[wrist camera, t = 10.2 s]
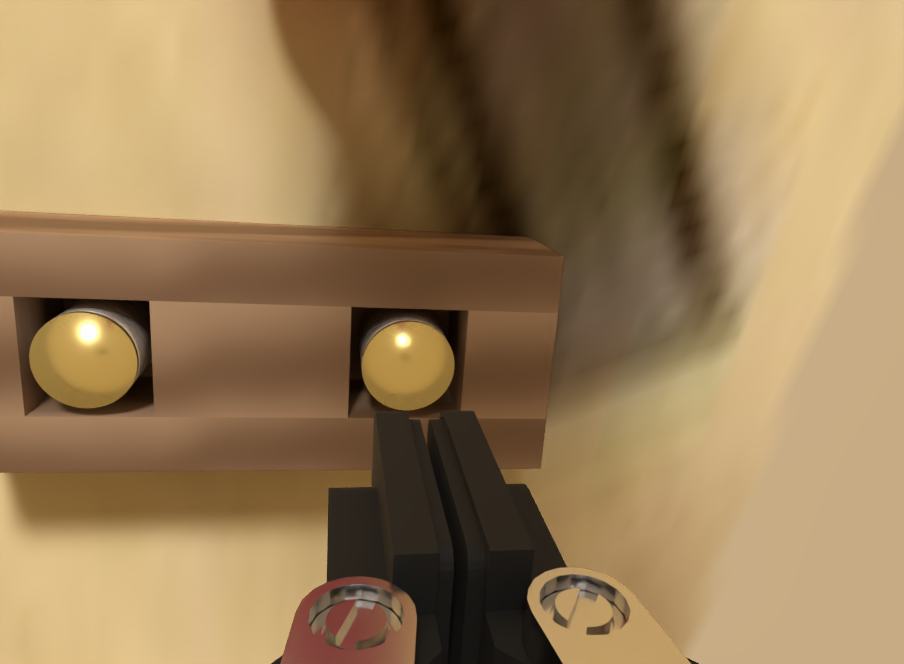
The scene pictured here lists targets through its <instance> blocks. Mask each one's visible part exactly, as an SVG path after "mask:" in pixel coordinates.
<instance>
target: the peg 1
mask: <svg viewBox="0 0 904 664" xmlns="http://www.w3.org/2000/svg"><path fill="white" fill-rule="evenodd" d="M151 361H152V348H151V326H150V305H149V302H148V301H141V300H108V299H82V300H80V301H79V302H77V303H76V304H74V305H73V306H71V307H70V308H68V309H67V310H65V311H64V312H62V313H61V314H59V315H58V316H56V317H55V318H53V319H52V320H50V321H49V322H47V323H46V324H45V325H44V326H42V327H41V328H40V330H39V331H38V332H37V333H36V335H35V336H34V338H33V341H32V343H31V346H30V352H29V362H30V367H31V371H32V373H33V376H34V378H35V380H36V381H37V383H38V384H39V385H40V387H41V388H42V389H43V390H44V391H45V392H46V393H47V394H48V395H50V396H51V397H52V398H54V399H56V400H57V401H59V402H61V403H64V404H66V405H69V406H73V407H78V408H97V407H102V406H106V405H108V404H111V403H113V402H115V401H116V400H118V399H119V398H121V397H122V396H123V395H124V394H125V393H126V392H127V391H128V390H129V389H130V387H131V386H132V385H133V384H134V382H135V381H136V380H137V379H138V377H139V376H140V375H141V374H142V372H143V371H144V370H145V369H146V367H147V366H148V365H149V364H150V362H151Z"/></svg>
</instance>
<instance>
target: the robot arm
mask: <svg viewBox="0 0 904 664" xmlns="http://www.w3.org/2000/svg"><path fill="white" fill-rule="evenodd" d="M272 664H698V663H696V662H694V661H692V660H690V659H688V658H686V657H685V656H684V654H683V653H682V652H681V651H680V649H679V648H678V647H677V646H676V645H675V643H674V642H673V641H672V640H671V639H670V637H669V636H668V635H667V634H666V632H665V631H664V630H663V629H662V628H661V626H660V625H659V624H658V623H657V622H656V620H655V619H654V618H653V617H652V615H651V614H650V613H649V612H648V611H647V609H646V608H645V607H644V606H643V604H642V603H641V602H640V601H639V600H638V598H637V597H636V596H635V595H634V594H633V593H632V592H631V591H630V590H629V589H628V588H627V587H626V586H625V585H624V584H622V583H620V582H619V581H617V580H615V579H614V578H612V577H610V576H608V575H606V574H603V573H600V572H597V571H594V570H590V569H584V568H578V567H567V566H566V564H565V562H564V560H563V558H562V556H561V554H560V552H559V550H558V548H557V546H556V544H555V542H554V540H553V538H552V536H551V534H550V532H549V530H548V528H547V526H546V524H545V522H544V519H543V517H542V515H541V513H540V511H539V509H538V507H537V505H536V503H535V501H534V499H533V497H532V495H531V493H530V491H529V489H528V488H527V486H526V485H525V484H506V483H505V481H504V478H503V476H502V474H501V472H500V469H499V467H498V465H497V462H496V460H495V458H494V456H493V453H492V451H491V449H490V447H489V444H488V442H487V440H486V437H485V435H484V433H483V431H482V428H481V426H480V424H479V421H478V419H477V417H476V415H475V413H474V411H441V413H440V417H439V419H429V421H428V429H427V445H426V441H425V437H424V433H423V429H422V425H421V421H420V419H409V416H408V412H407V411H375V414H374V431H373V461H372V487H359V488H329V503H328V553H327V583H325V584H323V585H321V586H319V587H317V588H315V589H314V590H312V591H311V592H310V593H309V594H308V595H307V596H306V597H305V598H304V599H303V600H302V601H301V603H300V605H299V607H298V609H297V611H296V613H295V617H294V620H293V623H292V627H291V630H290V633H289V637H288V640H287V643H286V647H285V650H284V653H283V655H282V656H281V657H280V658H278V659H277V660H276V661H274V662H273V663H272Z"/></svg>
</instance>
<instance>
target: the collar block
mask: <svg viewBox="0 0 904 664" xmlns="http://www.w3.org/2000/svg"><path fill="white" fill-rule="evenodd" d="M563 265H564V256H562V255H560V254H558V253H556V252H555V251H553V250H551V249H549V248H548V247H546V246H544V245H542V244H541V243H539V242H537V241H535V240H533V239H532V238H530V237H524V236H504V235H483V234H463V233H443V232H422V231H402V230H382V229H361V228H341V227H321V226H300V225H280V224H260V223H239V222H219V221H199V220H178V219H158V218H138V217H117V216H97V215H77V214H56V213H36V212H16V211H0V473H11V472H141V471H270V470H372V461H373V431H374V414H375V411H407V412H408V416H409V419H420V421H421V425H422V429H423V433H424V437H425V441H426V445H427V429H428V421H429V419H439V417H440V413H441V411H474V413H475V415H476V417H477V419H478V421H479V424H480V426H481V428H482V431H483V433H484V435H485V437H486V440H487V442H488V444H489V447H490V449H491V451H492V453H493V456H494V458H495V460H496V462H497V465H498V467H499V469H529V468H541V460H542V451H543V442H544V433H545V424H546V416H547V407H548V398H549V389H550V380H551V371H552V363H553V354H554V345H555V336H556V327H557V318H558V310H559V301H560V292H561V283H562V274H563ZM82 299H108V300H141V301H148V302H149V305H150V326H151V348H152V361H151V362H150V364H149V365H148V366H147V367H146V369H145V370H144V371H143V372H142V374H141V375H140V376H139V377H138V379H137V380H136V381H135V382H134V384H133V385H132V386H131V387H130V389H129V390H128V391H127V392H126V393H125V394H124V395H123V396H122V397H121V398H119V399H118V400H116V401H115V402H113V403H111V404H108V405H106V406H102V407H97V408H78V407H73V406H69V405H66V404H64V403H61V402H59V401H57V400H56V399H54V398H52V397H51V396H50V395H48V394H47V393H46V392H45V391H44V390H43V389H42V388H41V387H40V385H39V384H38V383H37V381H36V380H35V378H34V376H33V373H32V371H31V367H30V362H29V352H30V346H31V343H32V341H33V338H34V336H35V335H36V333H37V332H38V331H39V330H40V328H41V327H42V326H44V325H45V324H46V323H47V322H49V321H50V320H52V319H53V318H55V317H56V316H58V315H59V314H61V313H62V312H64V311H65V310H67V309H68V308H70V307H71V306H73V305H74V304H76V303H77V302H79V301H80V300H82ZM372 308H402V309H429V310H430V311H431V312H432V313H433V315H434V316H435V318H436V320H437V322H438V324H439V325H440V327H441V329H442V331H443V333H444V335H445V337H446V339H447V341H448V343H449V345H450V347H451V349H452V352H453V356H454V374H453V377H452V380H451V383H450V385H449V386H448V388H447V390H446V391H445V392H444V394H443V395H442V396H441V397H440V398H439V399H437V400H436V401H435V402H433V403H431V404H430V405H428V406H426V407H423V408H420V409H416V410H397V409H393V408H390V407H388V406H386V405H383V404H382V403H380V402H379V401H378V400H376V399H375V398H374V397H373V396H372V395H371V393H370V392H369V391H368V389H367V387H366V385H365V383H364V380H363V376H362V368H361V358H360V348H359V330H360V326H361V324H362V321H363V319H364V318H365V316H366V315H367V313H368V312H369V311H370V310H371V309H372Z"/></svg>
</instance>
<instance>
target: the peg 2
mask: <svg viewBox="0 0 904 664" xmlns="http://www.w3.org/2000/svg"><path fill="white" fill-rule="evenodd" d="M359 348H360V358H361V368H362V376H363V380H364V383H365V385H366V387H367V389H368V391H369V392H370V393H371V395H372V396H373V397H374V398H375V399H376V400H378V401H379V402H380V403H382V404H383V405H386V406H388V407H390V408H393V409H397V410H416V409H420V408H423V407H426V406H428V405H430V404H431V403H433V402H435V401H436V400H437V399H439V398H440V397H441V396H442V395H443V394H444V392H445V391H446V390H447V388H448V386H449V385H450V383H451V380H452V377H453V374H454V356H453V352H452V349H451V347H450V345H449V343H448V341H447V339H446V337H445V335H444V333H443V331H442V329H441V327H440V325H439V324H438V322H437V320H436V318H435V316H434V315H433V313H432V312H431V311H430V310H429V309H402V308H372V309H371V310H370V311H369V312H368V313H367V315H366V316H365V318H364V319H363V321H362V324H361V326H360V330H359Z"/></svg>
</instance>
